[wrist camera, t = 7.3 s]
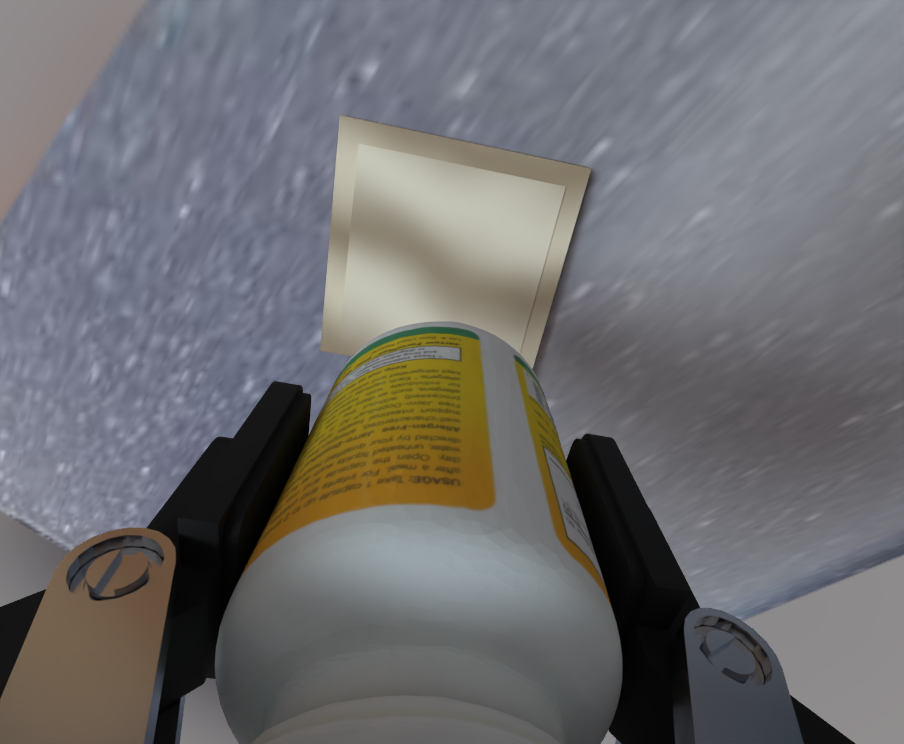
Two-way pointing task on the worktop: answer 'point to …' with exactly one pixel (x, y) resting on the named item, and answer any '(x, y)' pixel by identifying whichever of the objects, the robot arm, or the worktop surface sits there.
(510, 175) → the cream square tray
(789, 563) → the worktop surface
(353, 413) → the supplement bottle
